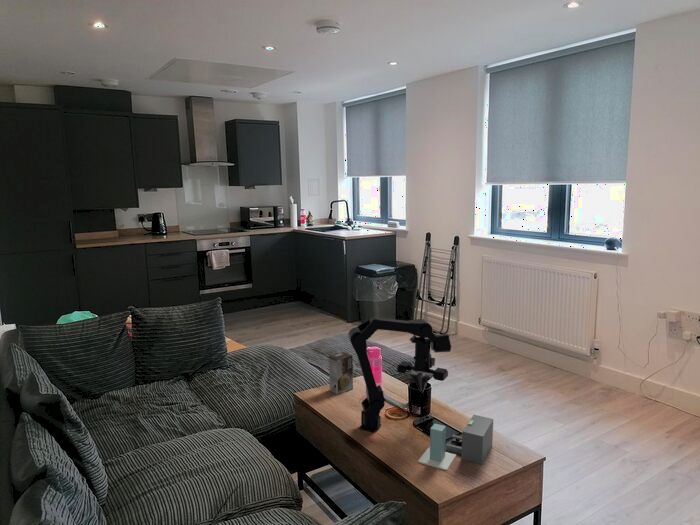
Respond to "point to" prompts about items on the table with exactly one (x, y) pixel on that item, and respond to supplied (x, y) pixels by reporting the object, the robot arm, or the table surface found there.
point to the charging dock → (474, 440)
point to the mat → (441, 465)
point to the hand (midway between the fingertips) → (421, 391)
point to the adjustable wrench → (394, 402)
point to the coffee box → (340, 372)
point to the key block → (437, 442)
